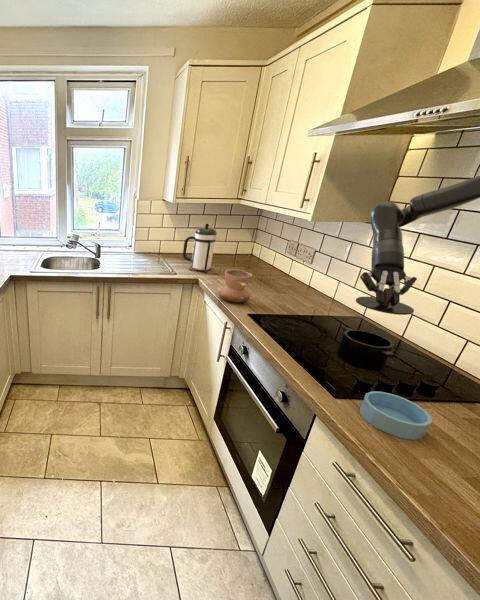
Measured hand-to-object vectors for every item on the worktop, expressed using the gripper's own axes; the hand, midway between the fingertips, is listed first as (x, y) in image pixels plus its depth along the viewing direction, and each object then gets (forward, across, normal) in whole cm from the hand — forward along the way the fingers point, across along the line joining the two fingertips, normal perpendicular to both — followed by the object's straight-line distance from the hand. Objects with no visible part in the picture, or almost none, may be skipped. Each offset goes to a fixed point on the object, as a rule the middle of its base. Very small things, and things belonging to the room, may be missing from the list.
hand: (387, 303), depth 97 cm
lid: (0, 0, -2) cm, 3 cm away
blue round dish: (+36, +1, +5) cm, 37 cm away
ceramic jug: (-16, +42, -47) cm, 65 cm away
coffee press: (-49, +64, -80) cm, 113 cm away
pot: (+13, 0, -18) cm, 23 cm away
